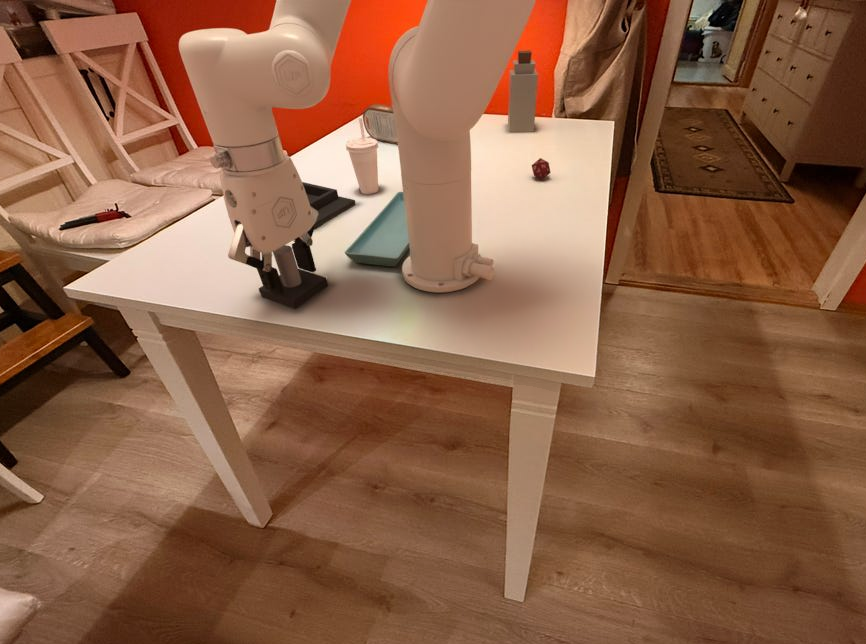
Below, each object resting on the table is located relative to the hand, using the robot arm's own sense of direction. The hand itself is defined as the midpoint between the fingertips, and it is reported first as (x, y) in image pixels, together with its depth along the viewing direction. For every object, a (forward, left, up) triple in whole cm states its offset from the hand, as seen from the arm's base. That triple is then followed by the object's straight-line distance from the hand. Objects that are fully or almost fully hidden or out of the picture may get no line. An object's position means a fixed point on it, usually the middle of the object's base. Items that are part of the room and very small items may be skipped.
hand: (291, 279), depth 68 cm
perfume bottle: (+3, -90, -2) cm, 90 cm away
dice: (-16, -58, -2) cm, 60 cm away
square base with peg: (0, 0, -2) cm, 2 cm away
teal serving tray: (-3, -23, -2) cm, 23 cm away
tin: (+30, -65, -2) cm, 72 cm away
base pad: (+19, -23, -2) cm, 30 cm away
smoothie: (+14, -36, -2) cm, 39 cm away
